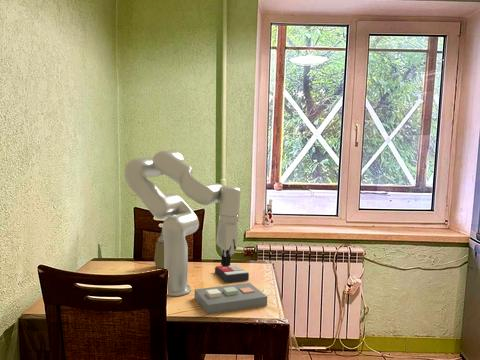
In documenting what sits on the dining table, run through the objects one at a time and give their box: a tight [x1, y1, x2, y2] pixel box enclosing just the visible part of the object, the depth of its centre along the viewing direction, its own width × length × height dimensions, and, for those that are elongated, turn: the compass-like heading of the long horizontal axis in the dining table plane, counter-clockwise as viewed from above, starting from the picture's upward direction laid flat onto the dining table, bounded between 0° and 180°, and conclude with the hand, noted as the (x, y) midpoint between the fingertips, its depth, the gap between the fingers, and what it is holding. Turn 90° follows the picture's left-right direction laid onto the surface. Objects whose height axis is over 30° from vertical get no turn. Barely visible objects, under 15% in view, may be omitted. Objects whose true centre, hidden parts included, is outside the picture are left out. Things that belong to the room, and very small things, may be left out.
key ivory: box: [206, 289, 221, 298], centre depth 157 cm, size 4×4×2 cm
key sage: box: [223, 287, 238, 296], centre depth 160 cm, size 4×4×2 cm
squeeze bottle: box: [153, 231, 164, 270], centre depth 199 cm, size 8×8×18 cm
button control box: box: [214, 263, 250, 284], centre depth 190 cm, size 11×4×15 cm
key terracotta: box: [239, 287, 254, 294], centre depth 163 cm, size 4×4×2 cm
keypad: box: [194, 282, 268, 315], centre depth 160 cm, size 24×16×4 cm, turn 114°
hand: (225, 265), depth 158 cm, fingers closed
